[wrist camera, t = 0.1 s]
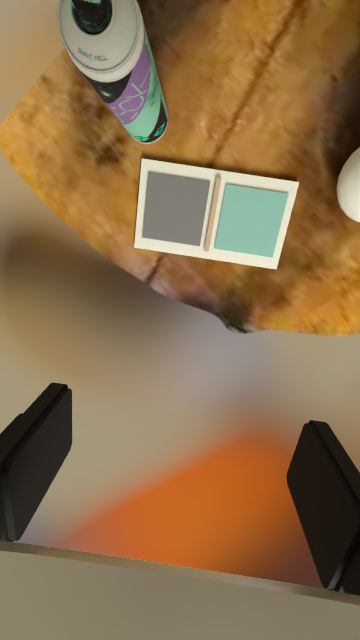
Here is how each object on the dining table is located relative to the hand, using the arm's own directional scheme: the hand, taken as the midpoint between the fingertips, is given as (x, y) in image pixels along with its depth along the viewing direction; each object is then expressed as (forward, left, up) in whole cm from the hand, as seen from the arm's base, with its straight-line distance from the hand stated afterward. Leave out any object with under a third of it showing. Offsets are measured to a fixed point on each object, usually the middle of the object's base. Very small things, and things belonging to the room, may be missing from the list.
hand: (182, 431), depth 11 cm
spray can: (-19, -9, -31) cm, 38 cm away
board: (-9, +1, -31) cm, 32 cm away
